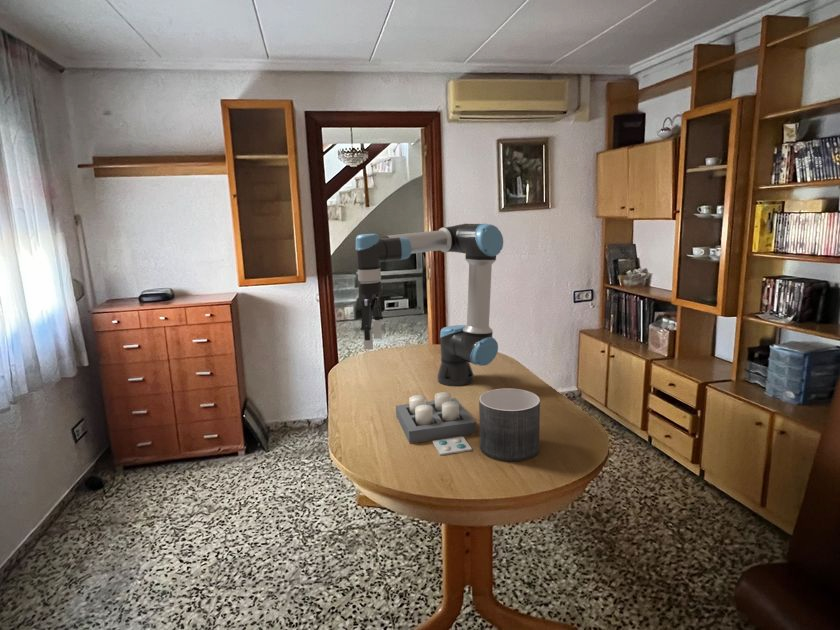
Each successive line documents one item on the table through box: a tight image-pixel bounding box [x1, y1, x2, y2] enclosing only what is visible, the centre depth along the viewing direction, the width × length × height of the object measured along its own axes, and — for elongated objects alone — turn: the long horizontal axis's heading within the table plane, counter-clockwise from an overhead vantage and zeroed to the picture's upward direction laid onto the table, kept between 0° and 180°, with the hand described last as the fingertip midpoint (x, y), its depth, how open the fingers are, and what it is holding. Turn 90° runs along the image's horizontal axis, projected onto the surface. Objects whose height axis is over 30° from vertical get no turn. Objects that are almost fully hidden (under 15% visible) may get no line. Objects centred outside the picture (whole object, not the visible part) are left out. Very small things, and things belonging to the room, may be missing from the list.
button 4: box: [442, 401, 459, 422], centre depth 171 cm, size 6×6×6 cm
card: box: [431, 435, 473, 456], centre depth 159 cm, size 10×9×1 cm
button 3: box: [434, 391, 452, 412], centre depth 179 cm, size 6×6×6 cm
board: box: [395, 397, 477, 444], centre depth 175 cm, size 22×22×4 cm
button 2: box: [415, 405, 433, 426], centre depth 169 cm, size 6×6×6 cm
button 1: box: [408, 394, 427, 415], centre depth 177 cm, size 6×6×6 cm
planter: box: [478, 387, 541, 462], centre depth 155 cm, size 18×18×16 cm
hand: (373, 343), depth 175 cm, fingers open, 13 cm apart
